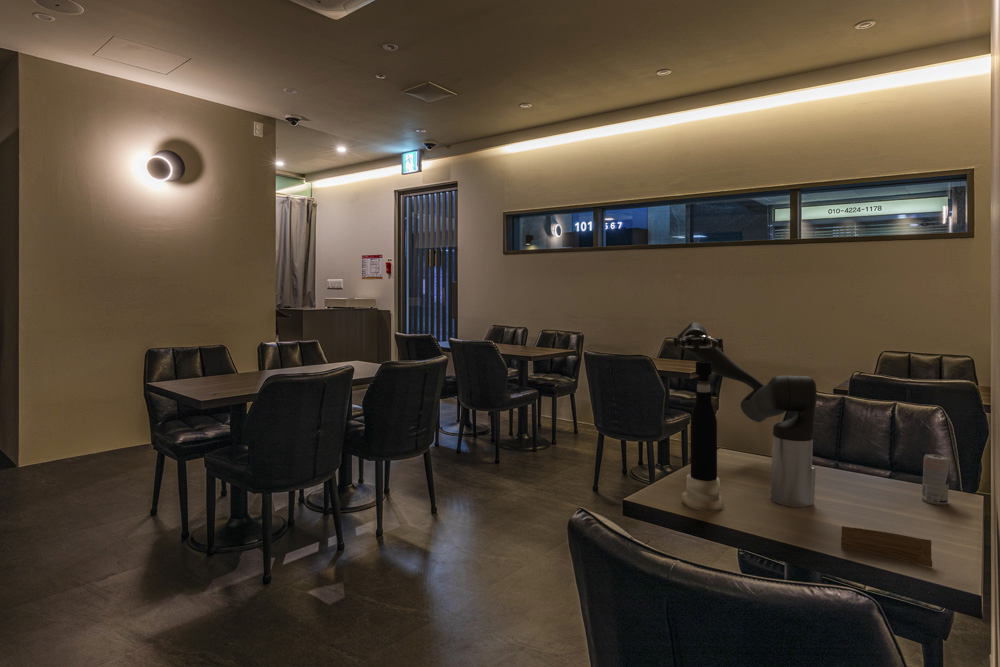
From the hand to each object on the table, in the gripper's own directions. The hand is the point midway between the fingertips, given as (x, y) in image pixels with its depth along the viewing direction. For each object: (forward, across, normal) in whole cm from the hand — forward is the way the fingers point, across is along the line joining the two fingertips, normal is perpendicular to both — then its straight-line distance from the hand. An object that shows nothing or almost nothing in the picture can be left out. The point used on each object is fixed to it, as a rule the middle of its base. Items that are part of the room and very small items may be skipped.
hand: (699, 343), depth 163 cm
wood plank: (+45, -33, -40) cm, 69 cm away
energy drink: (+5, -59, -40) cm, 72 cm away
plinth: (+24, 0, -40) cm, 46 cm away
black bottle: (+24, 0, -33) cm, 41 cm away
